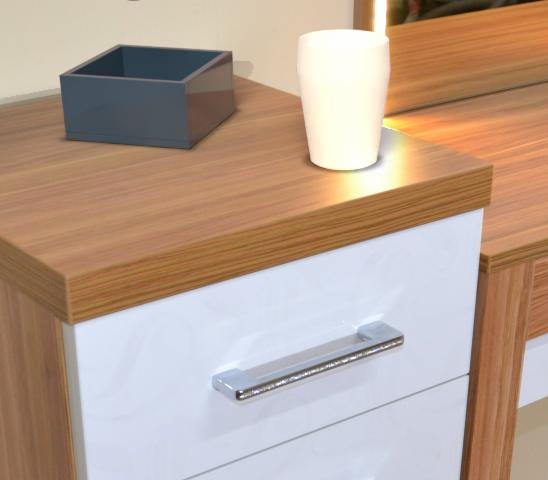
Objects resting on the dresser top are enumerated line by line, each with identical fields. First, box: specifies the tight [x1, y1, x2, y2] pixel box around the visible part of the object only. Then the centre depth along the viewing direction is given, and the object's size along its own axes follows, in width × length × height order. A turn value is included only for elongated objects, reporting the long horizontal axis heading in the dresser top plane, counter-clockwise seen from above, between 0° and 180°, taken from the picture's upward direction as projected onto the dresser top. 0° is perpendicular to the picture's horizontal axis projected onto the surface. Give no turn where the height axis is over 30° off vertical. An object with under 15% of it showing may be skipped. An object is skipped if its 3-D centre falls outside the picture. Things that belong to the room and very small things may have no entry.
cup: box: [296, 28, 391, 171], centre depth 112 cm, size 9×9×12 cm
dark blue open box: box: [58, 43, 236, 150], centre depth 123 cm, size 15×14×7 cm
